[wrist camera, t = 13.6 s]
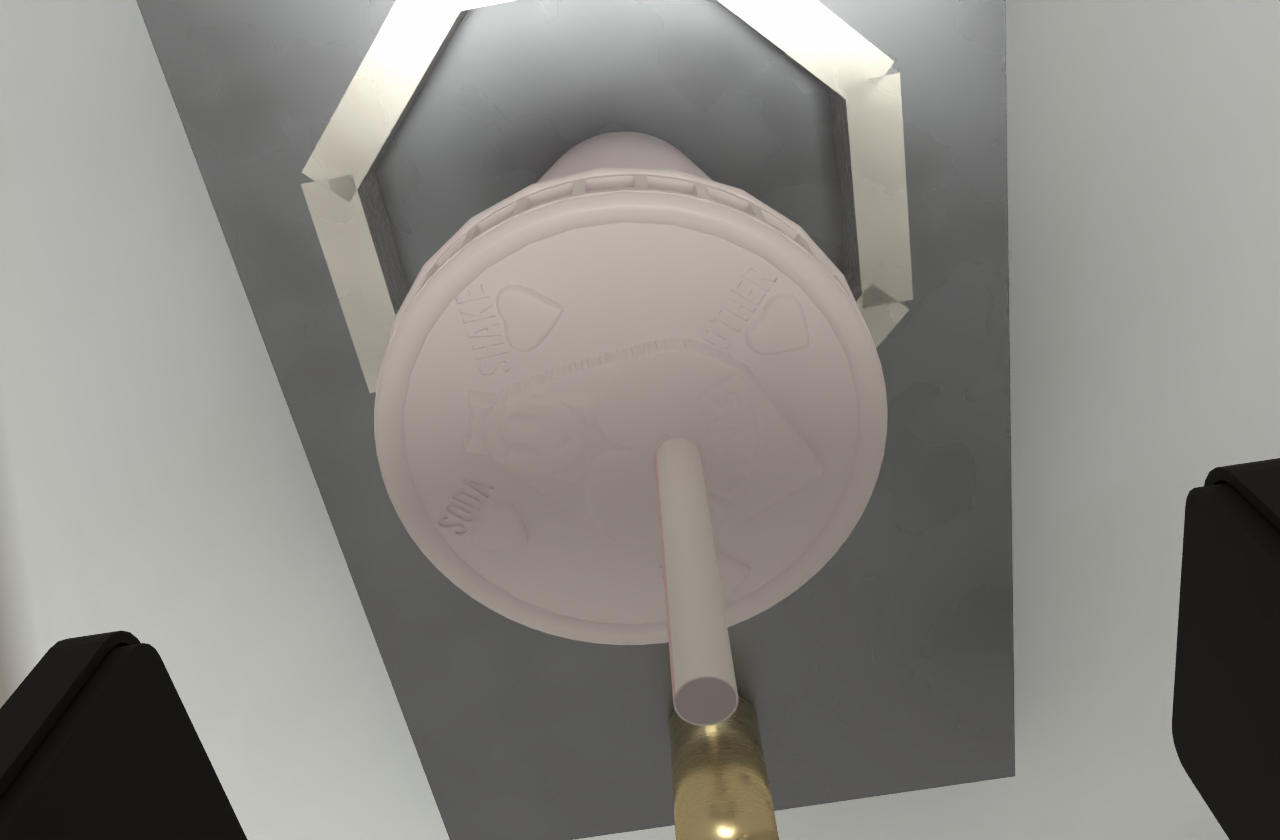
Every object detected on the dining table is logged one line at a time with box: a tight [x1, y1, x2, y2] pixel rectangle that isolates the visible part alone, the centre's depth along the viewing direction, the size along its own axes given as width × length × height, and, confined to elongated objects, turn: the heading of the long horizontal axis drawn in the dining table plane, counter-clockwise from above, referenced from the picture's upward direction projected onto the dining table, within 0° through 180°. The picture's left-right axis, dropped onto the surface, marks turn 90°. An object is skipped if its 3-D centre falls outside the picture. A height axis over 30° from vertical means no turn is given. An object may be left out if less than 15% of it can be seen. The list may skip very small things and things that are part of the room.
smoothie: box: [374, 131, 888, 726], centre depth 15 cm, size 6×6×14 cm
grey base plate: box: [136, 0, 1015, 840], centre depth 22 cm, size 16×24×6 cm, turn 10°
